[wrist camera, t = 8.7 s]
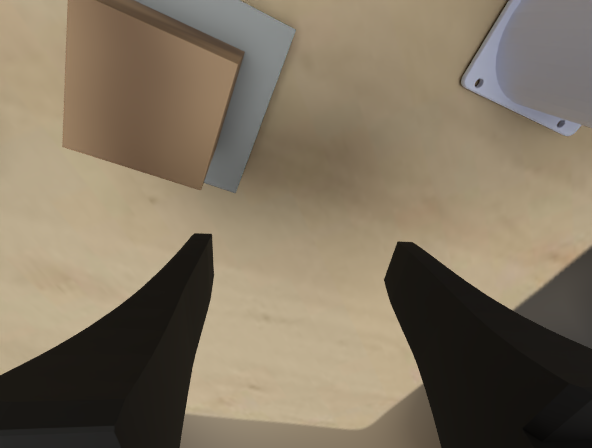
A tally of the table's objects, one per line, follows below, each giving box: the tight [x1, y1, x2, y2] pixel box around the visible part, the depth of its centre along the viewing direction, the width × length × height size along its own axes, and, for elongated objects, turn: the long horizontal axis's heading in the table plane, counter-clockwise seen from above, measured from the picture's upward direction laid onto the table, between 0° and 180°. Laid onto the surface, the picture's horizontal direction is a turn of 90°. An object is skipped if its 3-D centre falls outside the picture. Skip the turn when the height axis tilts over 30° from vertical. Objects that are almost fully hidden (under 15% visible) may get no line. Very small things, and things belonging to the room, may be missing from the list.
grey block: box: [135, 0, 296, 193], centre depth 16 cm, size 9×9×4 cm
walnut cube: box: [62, 0, 245, 190], centre depth 13 cm, size 5×5×5 cm
